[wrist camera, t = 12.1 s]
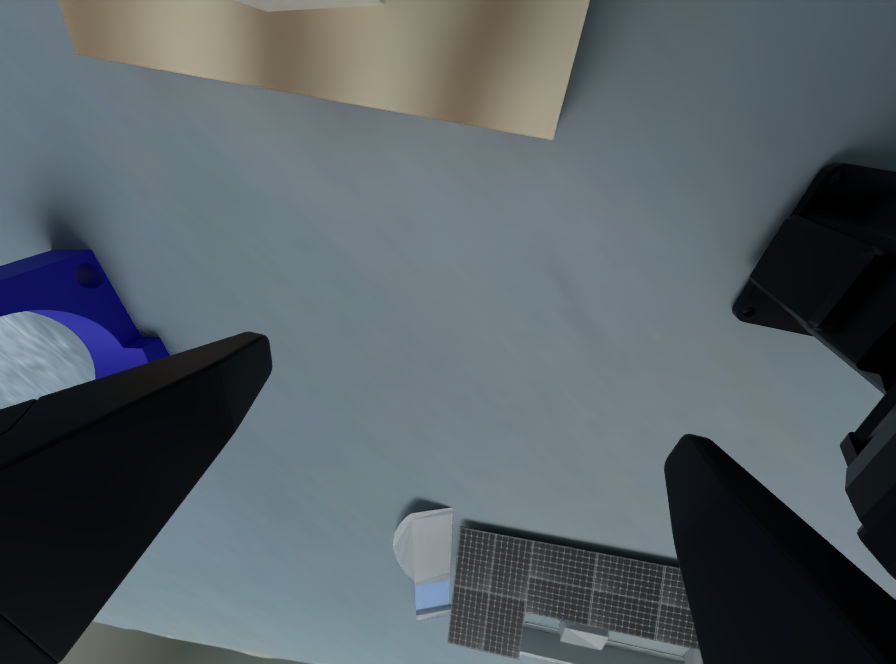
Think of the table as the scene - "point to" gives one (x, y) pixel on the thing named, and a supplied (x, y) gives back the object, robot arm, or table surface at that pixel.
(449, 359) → the table surface
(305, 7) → the white rectangular block
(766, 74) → the table surface
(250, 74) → the wooden grooved board
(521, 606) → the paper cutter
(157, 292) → the table surface
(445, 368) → the table surface
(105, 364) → the cable clip
